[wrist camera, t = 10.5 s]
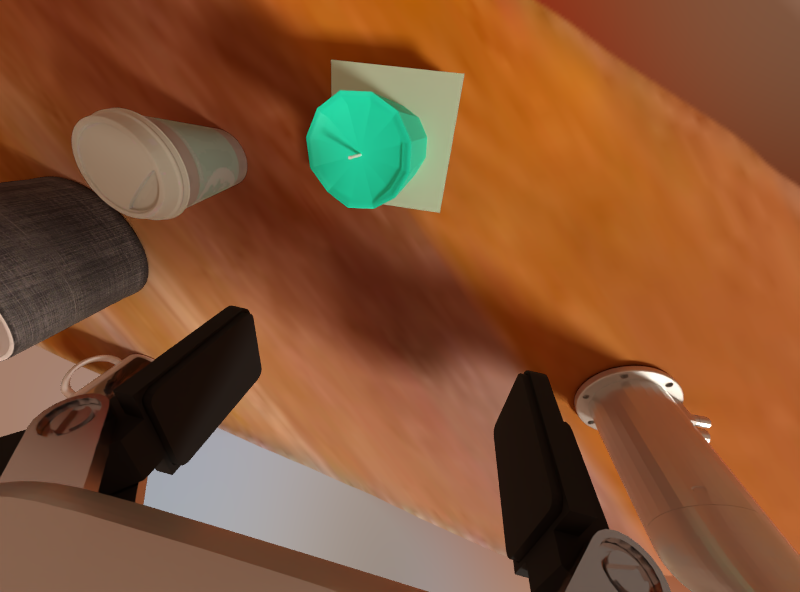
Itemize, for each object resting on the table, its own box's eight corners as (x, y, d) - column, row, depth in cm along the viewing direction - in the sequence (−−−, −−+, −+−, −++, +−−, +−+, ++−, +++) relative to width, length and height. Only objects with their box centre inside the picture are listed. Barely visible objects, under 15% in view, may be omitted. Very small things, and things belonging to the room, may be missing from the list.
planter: (27, 144, 36) (-228, 154, 23) (161, 235, 40) (10, 291, 26) (29, 246, 45) (-155, 296, 31) (139, 313, 48) (16, 385, 35)
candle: (350, 115, 24) (273, 105, 14) (420, 94, 23) (392, 66, 12) (369, 189, 27) (317, 225, 17) (433, 174, 25) (418, 206, 15)
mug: (137, 386, 59) (76, 435, 50) (107, 341, 53) (33, 386, 44) (182, 393, 58) (129, 445, 48) (157, 347, 52) (91, 396, 42)
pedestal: (462, 83, 26) (464, 73, 22) (441, 201, 31) (439, 212, 27) (350, 70, 27) (331, 59, 22) (349, 187, 32) (332, 196, 28)
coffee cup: (207, 199, 36) (107, 227, 25) (174, 118, 31) (39, 113, 21) (269, 194, 34) (189, 223, 24) (243, 109, 30) (133, 98, 20)
